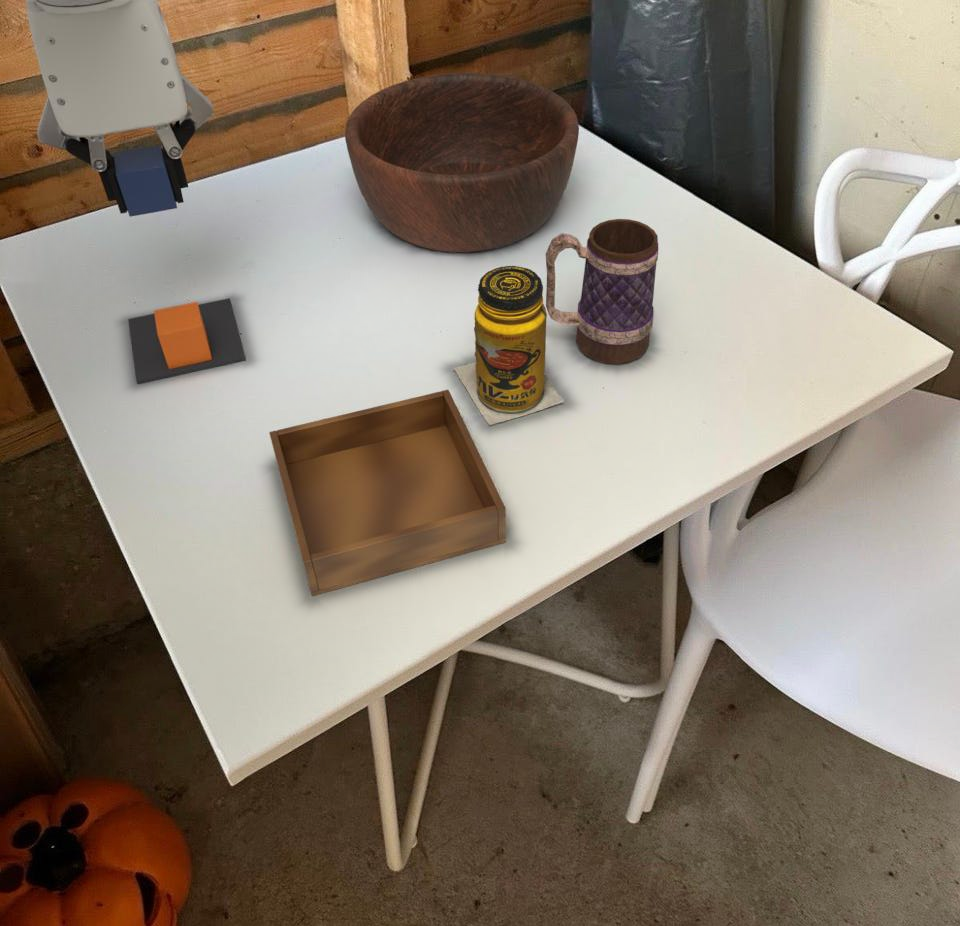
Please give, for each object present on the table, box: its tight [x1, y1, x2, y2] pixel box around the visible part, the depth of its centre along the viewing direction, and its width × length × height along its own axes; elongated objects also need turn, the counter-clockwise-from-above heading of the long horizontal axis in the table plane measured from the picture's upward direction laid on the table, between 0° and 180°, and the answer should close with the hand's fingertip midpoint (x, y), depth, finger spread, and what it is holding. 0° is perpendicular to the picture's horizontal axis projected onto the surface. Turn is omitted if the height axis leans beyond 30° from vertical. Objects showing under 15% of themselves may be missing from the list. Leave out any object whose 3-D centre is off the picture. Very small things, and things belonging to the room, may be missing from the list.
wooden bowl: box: [344, 72, 580, 253], centre depth 102 cm, size 25×25×10 cm
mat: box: [128, 297, 246, 385], centre depth 90 cm, size 10×10×1 cm
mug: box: [545, 218, 659, 365], centre depth 84 cm, size 10×7×12 cm
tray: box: [269, 389, 507, 597], centre depth 73 cm, size 15×14×4 cm
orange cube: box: [153, 301, 212, 369], centre depth 86 cm, size 4×4×4 cm
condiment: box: [453, 265, 565, 426], centre depth 80 cm, size 7×8×12 cm
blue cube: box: [112, 144, 178, 218], centre depth 79 cm, size 4×4×4 cm
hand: (150, 198), depth 80 cm, fingers closed on blue cube, 4 cm apart
